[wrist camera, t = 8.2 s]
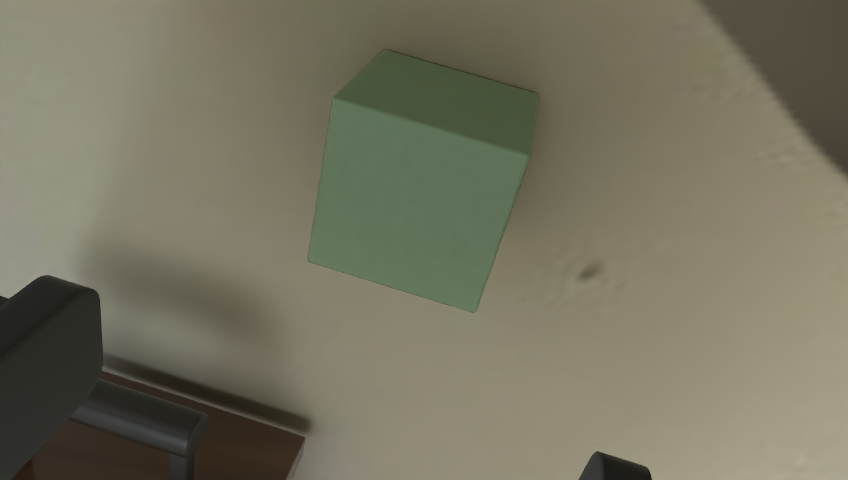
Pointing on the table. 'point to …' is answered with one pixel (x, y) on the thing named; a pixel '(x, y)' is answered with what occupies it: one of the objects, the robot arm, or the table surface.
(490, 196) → the block
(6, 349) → the robot arm
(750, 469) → the table surface
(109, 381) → the drawer
